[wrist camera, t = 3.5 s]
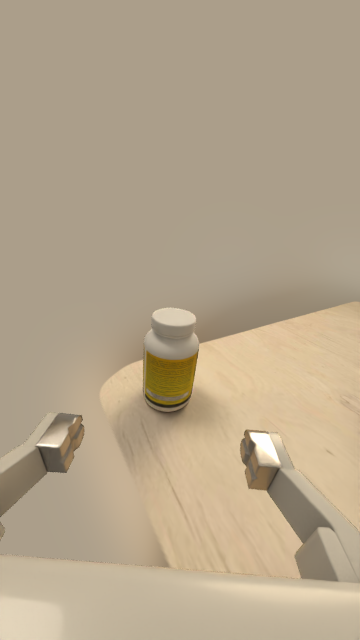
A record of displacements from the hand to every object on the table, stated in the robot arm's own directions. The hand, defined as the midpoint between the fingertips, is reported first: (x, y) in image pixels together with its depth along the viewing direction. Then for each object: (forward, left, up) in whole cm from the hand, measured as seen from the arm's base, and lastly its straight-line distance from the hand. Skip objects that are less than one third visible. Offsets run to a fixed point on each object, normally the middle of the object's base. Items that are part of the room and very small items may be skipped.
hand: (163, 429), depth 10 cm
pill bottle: (+10, +7, -10) cm, 16 cm away
